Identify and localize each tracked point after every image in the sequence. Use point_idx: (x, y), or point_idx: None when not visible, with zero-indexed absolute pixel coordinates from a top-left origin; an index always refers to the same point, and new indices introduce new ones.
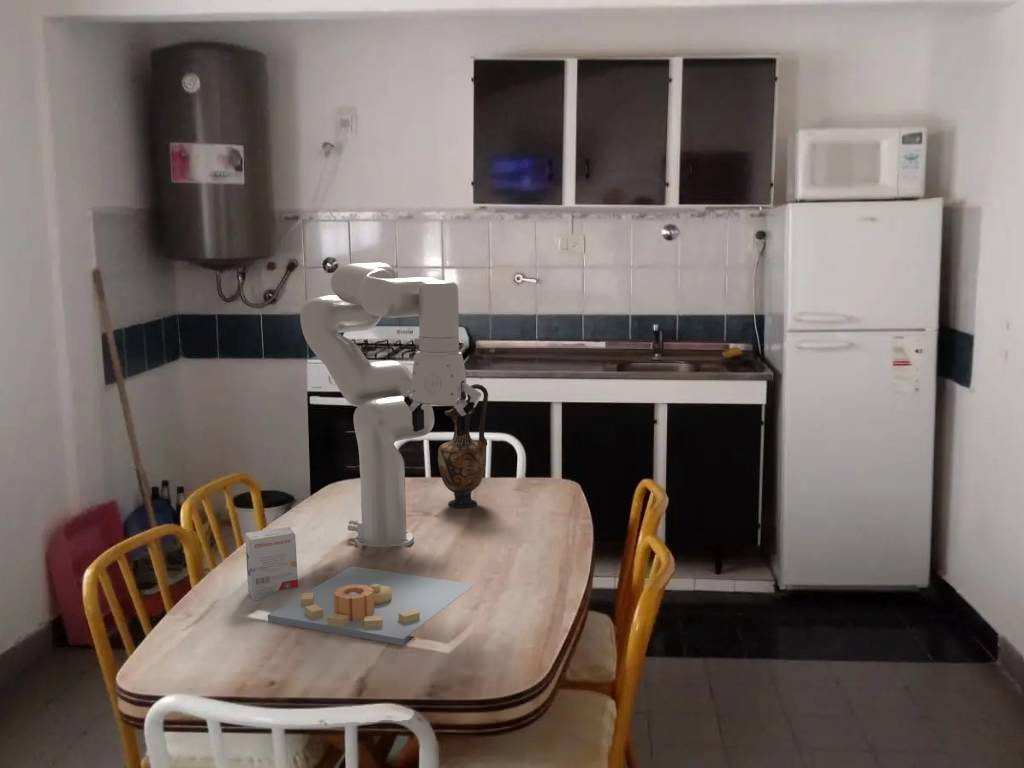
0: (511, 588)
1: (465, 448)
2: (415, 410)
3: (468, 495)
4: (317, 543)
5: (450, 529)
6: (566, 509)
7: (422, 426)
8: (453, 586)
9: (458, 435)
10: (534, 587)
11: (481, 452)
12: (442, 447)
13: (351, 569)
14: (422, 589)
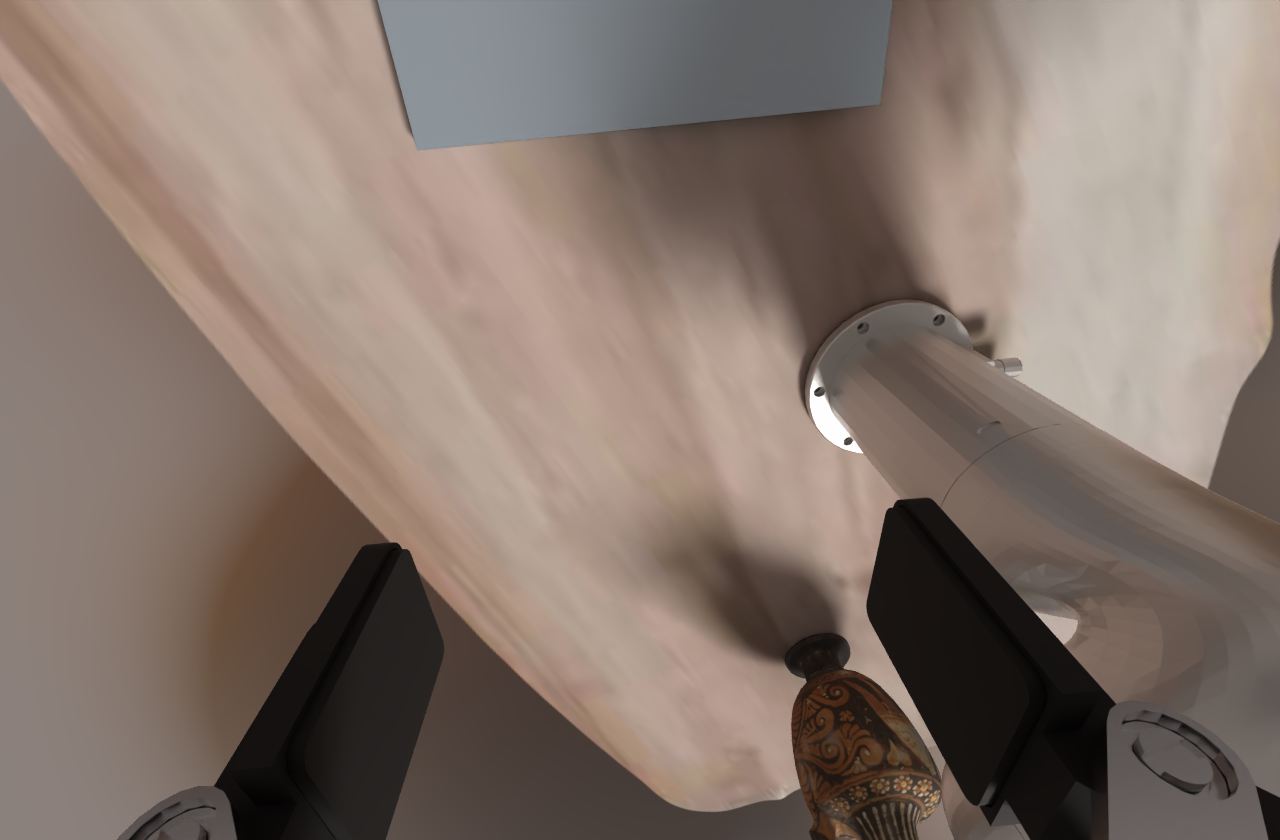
0: (347, 225)
1: (854, 795)
2: (1080, 738)
3: (808, 675)
4: (1074, 285)
5: (764, 526)
6: (595, 710)
7: (882, 609)
8: (462, 94)
9: (386, 543)
10: (300, 265)
11: (810, 798)
12: (928, 782)
13: (867, 71)
14: (533, 5)
